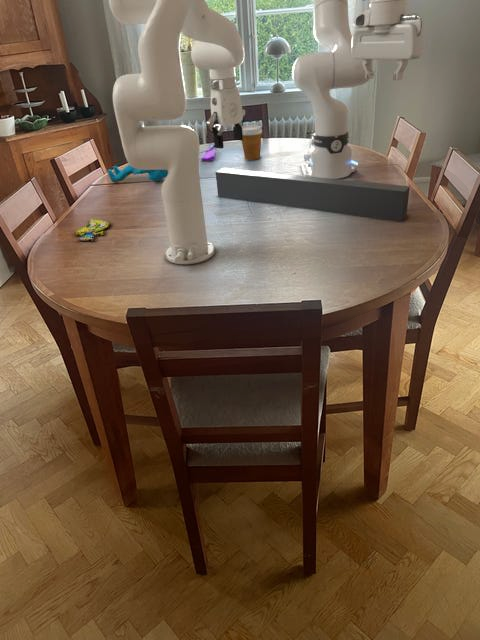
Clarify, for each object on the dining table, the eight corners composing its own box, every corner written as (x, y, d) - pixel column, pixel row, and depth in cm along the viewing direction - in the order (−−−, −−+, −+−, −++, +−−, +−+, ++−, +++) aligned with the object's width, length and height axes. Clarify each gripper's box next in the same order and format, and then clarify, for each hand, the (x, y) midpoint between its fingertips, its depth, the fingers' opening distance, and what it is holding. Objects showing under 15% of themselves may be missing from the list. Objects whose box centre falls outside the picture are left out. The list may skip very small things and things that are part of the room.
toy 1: (64, 237, 138) (89, 218, 150) (65, 240, 139) (90, 221, 151) (95, 238, 136) (118, 218, 148) (96, 241, 136) (119, 221, 148)
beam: (218, 196, 162) (215, 171, 157) (225, 192, 165) (223, 167, 160) (401, 221, 132) (405, 191, 127) (406, 215, 135) (410, 186, 130)
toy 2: (118, 158, 191) (184, 137, 181) (129, 184, 196) (194, 165, 186) (99, 171, 177) (170, 149, 167) (111, 198, 182) (181, 178, 172)
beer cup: (238, 160, 197) (235, 130, 191) (244, 154, 205) (242, 125, 198) (260, 160, 194) (258, 129, 188) (266, 154, 202) (264, 124, 195)
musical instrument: (187, 168, 197) (231, 153, 201) (185, 163, 196) (230, 148, 200) (173, 159, 217) (213, 146, 221) (171, 155, 216) (212, 141, 220)
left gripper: (214, 90, 134) (220, 152, 144) (251, 79, 145) (254, 138, 155) (194, 89, 138) (202, 150, 148) (232, 79, 149) (236, 136, 159)
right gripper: (432, 12, 110) (424, 79, 117) (366, 17, 125) (363, 76, 132) (413, 14, 107) (407, 82, 115) (348, 19, 122) (346, 79, 130)
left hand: (229, 143), depth 151 cm, fingers open, 9 cm apart
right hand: (383, 79), depth 124 cm, fingers open, 8 cm apart
